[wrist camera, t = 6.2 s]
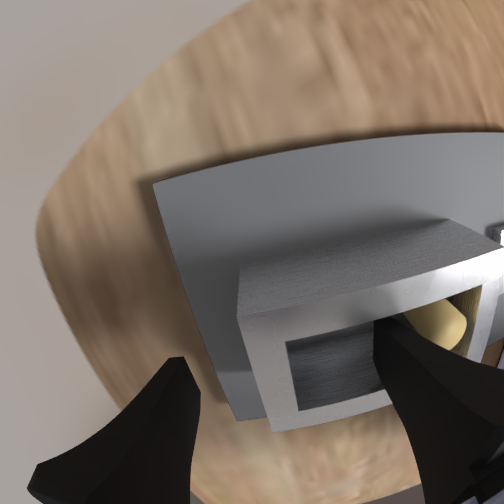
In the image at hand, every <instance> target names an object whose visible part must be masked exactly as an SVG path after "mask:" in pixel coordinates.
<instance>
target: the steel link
mask: <svg viewBox="0 0 504 504" xmlns="http://www.w3.org/2000/svg"><path fill="white" fill-rule="evenodd" d="M503 265H504V246H503V245H501V244H499V243H497V242H495V241H493V240H491V239H489V238H487V237H486V236H484V235H482V234H480V233H478V232H476V231H474V230H472V229H470V228H467V227H465V226H463V225H461V224H459V223H457V222H455V221H453V220H450V219H448V220H444V221H440V222H435V223H431V224H426V225H422V226H417V227H412V228H408V229H403V230H399V231H394V232H390V233H385V234H380V235H376V236H371V237H367V238H362V239H357V240H353V241H348V242H343V243H339V244H334V245H329V246H324V247H320V248H315V249H310V250H306V251H301V252H296V253H291V254H286V255H282V256H277V257H272V258H267V259H262V260H257V261H253V262H248V263H243V264H240V276H239V290H238V304H237V320H238V323H239V327H240V330H241V334H242V337H243V340H244V344H245V347H246V350H247V354H248V357H249V360H250V363H251V367H252V370H253V373H254V376H255V380H256V383H257V386H258V389H259V392H260V395H261V399H262V402H263V405H264V408H265V411H266V414H267V417H268V420H269V423H270V426H271V429H272V432H280V431H286V430H292V429H297V428H303V427H308V426H313V425H317V424H322V423H326V422H331V421H335V420H339V419H343V418H347V417H350V416H354V415H358V414H361V413H365V412H368V411H371V410H374V409H378V408H381V407H384V406H387V405H390V404H393V403H392V401H391V399H390V398H389V396H388V394H387V392H386V390H385V388H384V386H383V384H382V382H381V380H380V378H379V375H378V372H377V370H376V367H375V364H374V361H373V334H374V328H373V329H369V330H366V331H362V332H358V333H354V334H351V335H347V336H343V337H339V338H335V339H330V340H326V341H322V342H318V343H313V344H309V345H304V346H299V347H294V348H289V349H288V347H287V342H286V341H290V340H295V339H300V338H304V337H309V336H314V335H318V334H322V333H327V332H331V331H335V330H339V329H343V328H347V327H351V326H355V325H359V324H363V323H366V322H370V321H374V320H377V319H381V318H384V317H388V316H391V315H394V314H398V313H401V312H404V311H408V310H411V309H414V308H417V307H420V306H423V305H426V304H429V303H432V302H435V301H438V300H441V299H444V298H445V299H447V300H448V301H449V302H450V303H451V304H452V305H453V306H454V307H455V308H456V309H457V310H458V311H459V312H460V313H461V314H462V315H463V316H464V317H465V318H466V322H467V325H466V330H465V332H464V335H463V336H462V338H461V339H460V341H459V342H458V343H457V344H456V345H455V346H454V347H453V348H452V349H450V350H449V351H451V352H453V353H455V354H458V355H460V356H462V357H465V358H468V359H470V360H473V361H475V362H478V363H481V360H482V357H483V354H484V351H485V348H486V344H487V341H488V337H489V334H490V330H491V326H492V322H493V318H494V314H495V309H496V305H497V300H498V295H499V290H500V284H501V278H502V272H503ZM399 322H400V323H402V324H404V325H405V326H407V327H408V328H410V329H412V330H413V331H415V332H416V333H418V332H417V330H416V329H415V328H414V326H413V325H412V324H411V323H410V321H409V320H408V319H407V318H406V319H403V320H400V321H399ZM418 334H419V333H418Z"/></svg>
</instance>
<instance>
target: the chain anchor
mask: <svg viewBox="0 0 504 504" xmlns="http://www.w3.org/2000/svg"><path fill="white" fill-rule="evenodd" d="M492 240H493V241H495V242H497V243H499V244H501V245H503V246H504V224H501V225H498V226H494V227H492ZM503 293H504V265H503V272H502V278H501V284H500V290H499V295H501V294H503ZM499 295H498V296H499Z"/></svg>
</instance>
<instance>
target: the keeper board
mask: <svg viewBox="0 0 504 504" xmlns="http://www.w3.org/2000/svg"><path fill="white" fill-rule="evenodd" d="M152 185H153V189H154V192H155V196H156V200H157V203H158V207H159V210H160V214H161V217H162V221H163V224H164V227H165V231H166V234H167V237H168V241H169V244H170V247H171V250H172V253H173V257H174V260H175V263H176V266H177V269H178V272H179V275H180V278H181V281H182V284H183V287H184V290H185V293H186V296H187V298H188V301H189V304H190V307H191V310H192V312H193V315H194V318H195V321H196V323H197V326H198V329H199V331H200V334H201V337H202V339H203V342H204V344H205V347H206V350H207V352H208V355H209V357H210V360H211V362H212V365H213V367H214V370H215V372H216V374H217V377H218V379H219V382H220V384H221V386H222V389H223V391H224V393H225V396H226V398H227V400H228V403H229V405H230V407H231V409H232V412H233V414H234V416H235V418H236V421H243V420H251V419H259V418H266V417H267V414H266V411H265V408H264V405H263V402H262V399H261V395H260V392H259V389H258V386H257V383H256V380H255V376H254V373H253V370H252V367H251V363H250V360H249V357H248V354H247V350H246V347H245V344H244V340H243V337H242V334H241V330H240V327H239V323H238V320H237V304H238V290H239V276H240V264H243V263H248V262H253V261H257V260H262V259H267V258H272V257H277V256H282V255H286V254H291V253H296V252H301V251H306V250H310V249H315V248H320V247H324V246H329V245H334V244H339V243H343V242H348V241H353V240H357V239H362V238H367V237H371V236H376V235H380V234H385V233H390V232H394V231H399V230H403V229H408V228H412V227H417V226H422V225H426V224H431V223H435V222H440V221H444V220H448V219H450V220H453V221H455V222H457V223H459V224H461V225H463V226H465V227H467V228H470V229H472V230H474V231H476V232H478V233H480V234H482V235H484V236H486V237H487V238H489V239H491V240H492V227H494V226H498V225H501V224H504V132H445V133H425V134H410V135H398V136H387V137H377V138H368V139H360V140H352V141H344V142H337V143H330V144H323V145H317V146H311V147H305V148H299V149H293V150H288V151H282V152H277V153H272V154H267V155H262V156H257V157H252V158H248V159H243V160H239V161H234V162H230V163H226V164H221V165H217V166H213V167H209V168H205V169H201V170H197V171H194V172H190V173H186V174H182V175H179V176H175V177H171V178H168V179H164V180H162V181H159V182H156V183H154V184H152ZM391 317H392V318H394V319H396V320H397V321H400V320H403V319H406V318H407V319H408V320H409V321H410V323H411V324H412V325H413V326H414V328H415V329H416V330H417V332H418V333H419V334H420V335H421V336H423V337H425V338H426V339H428V340H430V341H432V342H434V343H435V344H437V345H439V346H441V347H443V348H445V349H447V350H450V349H452V348H453V347H454V346H455V345H456V344H457V343H458V342H459V341H460V339H461V338H462V336H463V335H464V332H465V330H466V325H467V322H466V318H465V317H464V316H463V315H462V314H461V313H460V312H459V311H458V310H457V309H456V308H455V307H454V306H453V305H452V304H451V303H450V302H449V301H448V300H447V299H445V298H444V299H441V300H438V301H435V302H432V303H429V304H426V305H423V306H420V307H417V308H414V309H411V310H408V311H404V312H401V313H398V314H394V315H391ZM373 328H374V321H370V322H366V323H363V324H359V325H355V326H351V327H347V328H343V329H339V330H335V331H331V332H327V333H322V334H318V335H314V336H309V337H304V338H300V339H295V340H290V341H286V342H287V347H288V349H289V348H294V347H299V346H304V345H309V344H313V343H318V342H322V341H326V340H330V339H335V338H339V337H343V336H347V335H351V334H354V333H358V332H362V331H366V330H369V329H373ZM503 338H504V293H503V294H501V295H499V296H498V300H497V305H496V309H495V314H494V318H493V322H492V326H491V330H490V334H489V337H488V341H487V344H486V347H488V346H490V345H492V344H494V343H495V342H497V341H499V340H501V339H503Z"/></svg>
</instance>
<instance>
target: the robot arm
mask: <svg viewBox="0 0 504 504" xmlns="http://www.w3.org/2000/svg"><path fill="white" fill-rule="evenodd" d="M373 361H374V364H375V367H376V370H377V372H378V375H379V378H380V380H381V382H382V384H383V386H384V388H385V390H386V392H387V394H388V396H389V398H390V399H391V401H392V403H393V405H394V407H395V409H396V411H397V413H398V415H399V417H400V419H401V421H402V423H403V425H404V427H405V429H406V432H407V435H408V438H409V441H410V444H411V447H412V450H413V453H414V456H415V460H416V463H417V466H418V470H419V474H420V478H421V483H422V487H423V492H424V497H425V503H426V504H504V350H503V353H502V356H501V359H500V361H499V364H498V367H497V368H495V367H492V366H488V365H485V364H481V363H478V362H475V361H473V360H470V359H468V358H465V357H462V356H460V355H458V354H455V353H453V352H451V351H449V350H447V349H445V348H443V347H441V346H439V345H437V344H435V343H434V342H432V341H430V340H428V339H426V338H425V337H423V336H421V335H420V334H418V333H416V332H415V331H413V330H412V329H410V328H408V327H407V326H405V325H404V324H402V323H400V322H399V321H397V320H396V319H394V318H392V317H391V316H388V317H384V318H381V319H377V320H374V334H373ZM200 397H201V392H200V390H199V388H198V386H197V384H196V382H195V380H194V377H193V375H192V373H191V371H190V369H189V367H188V365H187V362H186V360H185V358H184V356H182V357H173V358H169V359H168V360H167V361H166V362H165V363H164V364H163V366H162V367H161V368H160V369H159V370H158V372H157V373H156V374H155V375H154V376H153V378H152V379H151V380H150V381H149V382H148V383H147V385H146V386H145V387H144V388H143V389H142V390H141V392H140V393H139V394H138V395H137V396H136V397H135V398H134V399H133V400H132V401H131V402H130V403H129V404H128V405H127V407H126V408H125V409H124V410H123V411H122V412H121V413H120V414H119V415H117V416H116V417H115V418H114V419H113V420H112V421H111V422H109V424H107V425H106V426H105V427H104V428H102V429H101V430H100V431H98V432H97V433H96V434H94V435H93V436H91V437H90V438H88V439H87V440H86V441H84V442H82V443H81V444H80V445H78V446H76V447H74V448H72V449H71V450H69V451H67V452H65V453H63V454H61V455H59V456H57V457H54V458H52V459H49V460H47V461H45V462H42V463H40V464H38V465H37V466H36V469H35V471H34V473H33V475H32V478H31V480H30V482H29V484H28V487H27V489H28V491H29V493H30V494H31V495H32V496H33V497H35V498H36V499H37V500H39V501H40V502H41V503H43V504H190V474H191V463H192V456H193V450H194V445H195V439H196V434H197V428H198V422H199V416H200Z"/></svg>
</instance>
